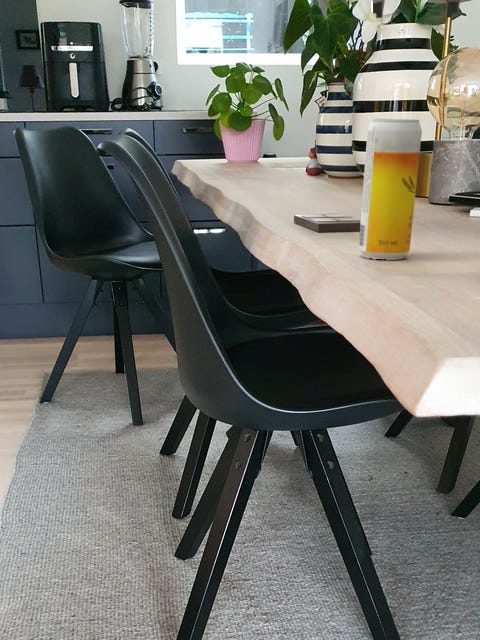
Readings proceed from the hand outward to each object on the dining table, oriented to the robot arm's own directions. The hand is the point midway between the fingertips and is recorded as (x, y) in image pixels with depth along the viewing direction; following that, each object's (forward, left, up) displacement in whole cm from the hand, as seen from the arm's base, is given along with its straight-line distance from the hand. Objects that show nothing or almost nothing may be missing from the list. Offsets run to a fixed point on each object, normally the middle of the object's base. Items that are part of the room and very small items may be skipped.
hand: (414, 11), depth 97 cm
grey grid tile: (+4, -14, -27) cm, 30 cm away
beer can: (+7, +13, -27) cm, 31 cm away
